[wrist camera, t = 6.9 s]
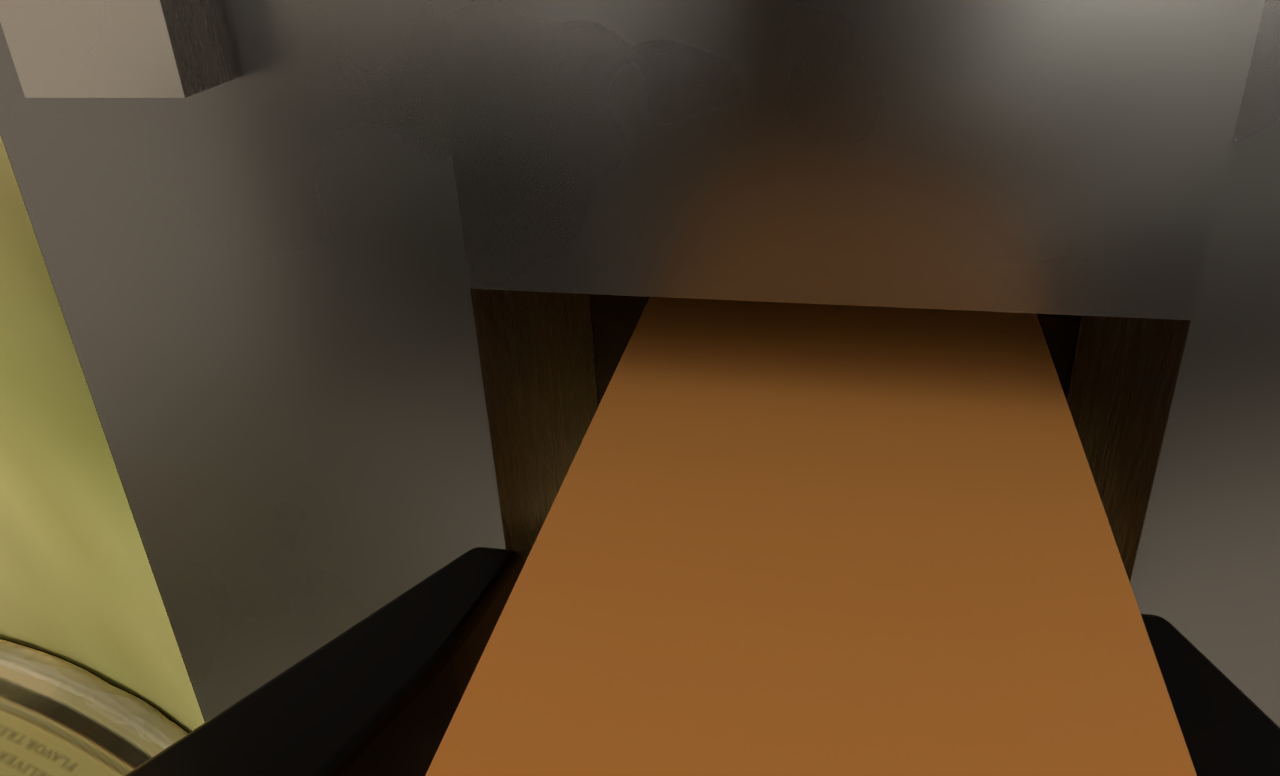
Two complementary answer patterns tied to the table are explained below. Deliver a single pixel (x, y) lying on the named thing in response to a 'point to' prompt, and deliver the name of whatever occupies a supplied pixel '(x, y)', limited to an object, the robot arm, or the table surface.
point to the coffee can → (72, 720)
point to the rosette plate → (629, 260)
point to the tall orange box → (823, 566)
